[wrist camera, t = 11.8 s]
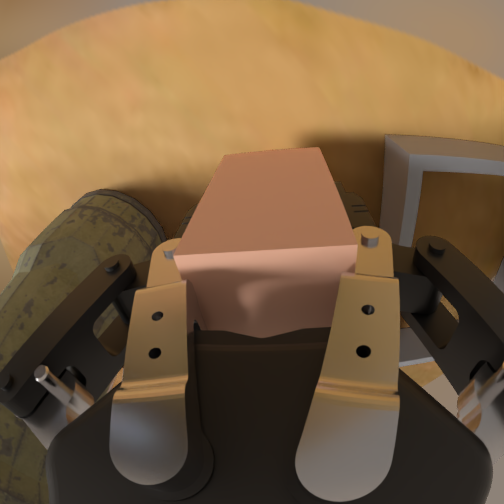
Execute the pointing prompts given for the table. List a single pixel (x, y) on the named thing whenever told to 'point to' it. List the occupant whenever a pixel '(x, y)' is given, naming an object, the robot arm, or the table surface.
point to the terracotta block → (268, 244)
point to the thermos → (49, 297)
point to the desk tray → (408, 195)
